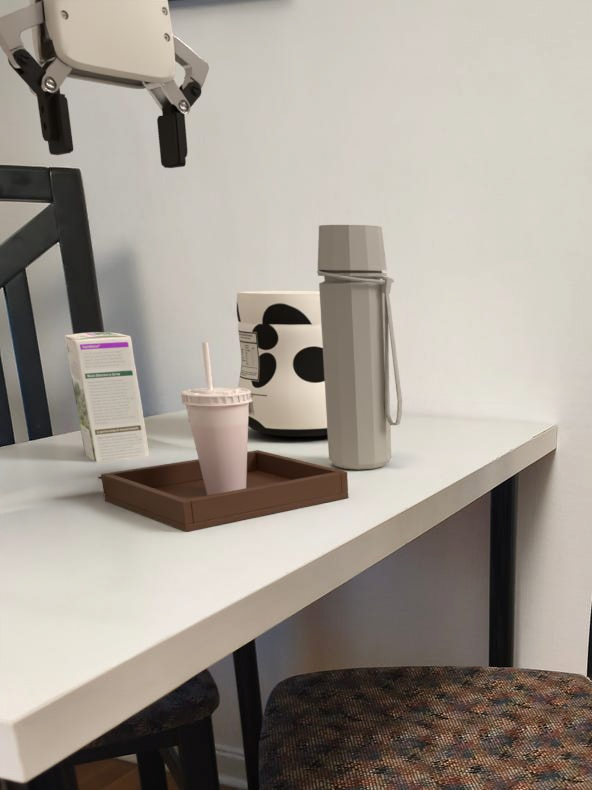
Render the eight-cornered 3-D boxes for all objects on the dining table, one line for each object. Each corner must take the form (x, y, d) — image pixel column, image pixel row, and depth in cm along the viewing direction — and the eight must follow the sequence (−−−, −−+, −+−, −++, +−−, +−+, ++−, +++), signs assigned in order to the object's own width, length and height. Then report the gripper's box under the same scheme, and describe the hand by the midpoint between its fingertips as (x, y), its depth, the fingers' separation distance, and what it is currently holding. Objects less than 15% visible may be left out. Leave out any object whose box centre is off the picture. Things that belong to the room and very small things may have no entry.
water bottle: (314, 468, 101) (298, 224, 91) (352, 456, 107) (341, 228, 98) (384, 476, 97) (375, 223, 88) (419, 463, 104) (414, 227, 94)
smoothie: (204, 485, 90) (188, 339, 84) (267, 486, 90) (255, 340, 84) (183, 500, 84) (163, 344, 78) (250, 501, 84) (235, 345, 78)
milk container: (386, 425, 128) (381, 291, 121) (342, 447, 113) (334, 294, 106) (275, 420, 132) (264, 290, 125) (217, 440, 116) (202, 293, 109)
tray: (185, 531, 76) (182, 502, 75) (104, 500, 86) (100, 473, 85) (348, 497, 88) (347, 471, 87) (260, 473, 98) (258, 449, 97)
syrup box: (153, 474, 97) (134, 334, 92) (97, 480, 94) (73, 336, 89) (139, 465, 102) (120, 330, 96) (84, 470, 98) (61, 332, 93)
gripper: (173, -49, 77) (192, 174, 83) (-47, -114, 65) (-6, 151, 71) (219, -70, 72) (235, 168, 78) (-11, -143, 60) (30, 144, 66)
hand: (120, 160), depth 75 cm, fingers open, 9 cm apart
